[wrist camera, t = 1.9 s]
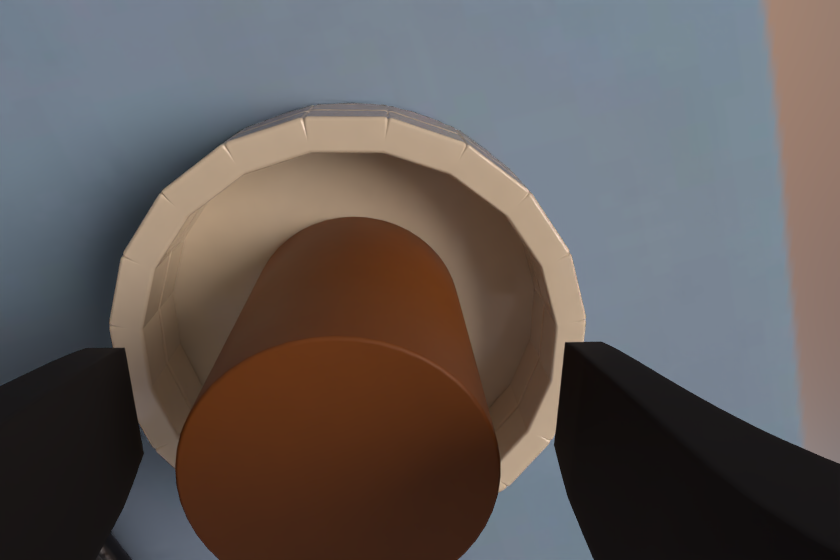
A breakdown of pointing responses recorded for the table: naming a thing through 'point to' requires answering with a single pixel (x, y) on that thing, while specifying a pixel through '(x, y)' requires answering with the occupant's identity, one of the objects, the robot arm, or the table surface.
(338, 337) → the brown cylinder
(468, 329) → the cream bowl
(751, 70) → the table surface
